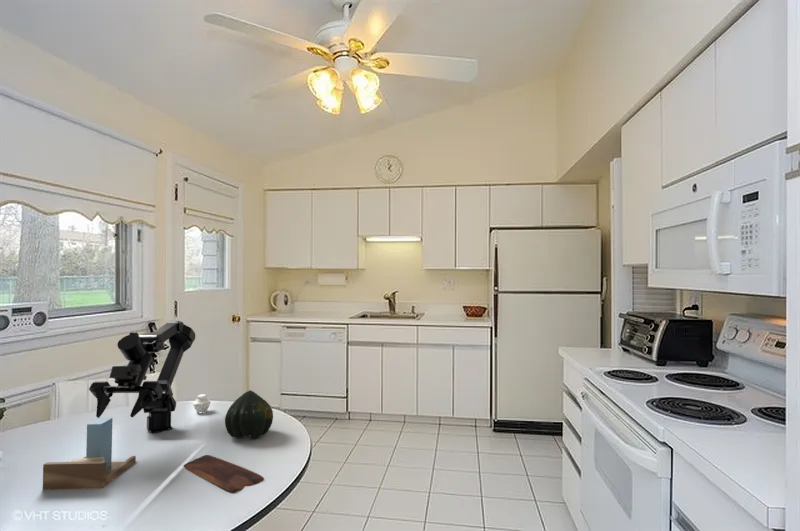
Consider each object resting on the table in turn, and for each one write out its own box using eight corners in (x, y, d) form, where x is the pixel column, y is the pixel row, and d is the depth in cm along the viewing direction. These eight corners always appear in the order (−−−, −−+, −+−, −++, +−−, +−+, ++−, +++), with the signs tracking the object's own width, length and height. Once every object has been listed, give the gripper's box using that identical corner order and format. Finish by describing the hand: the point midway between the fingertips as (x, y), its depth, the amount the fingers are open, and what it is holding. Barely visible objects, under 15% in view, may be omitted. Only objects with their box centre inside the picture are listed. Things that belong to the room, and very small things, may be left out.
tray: (83, 465, 119) (84, 440, 119) (136, 464, 120) (136, 439, 120) (42, 493, 104) (43, 464, 104) (102, 492, 105) (103, 463, 105)
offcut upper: (73, 468, 109) (73, 459, 109) (104, 466, 111) (104, 456, 111) (64, 476, 105) (64, 465, 105) (96, 473, 107) (96, 463, 107)
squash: (245, 432, 130) (266, 387, 140) (208, 427, 136) (231, 384, 146) (269, 450, 140) (287, 407, 150) (233, 445, 145) (253, 403, 155)
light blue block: (98, 465, 117) (99, 417, 117) (111, 465, 117) (112, 417, 117) (85, 474, 112) (87, 424, 112) (99, 474, 112) (101, 424, 112)
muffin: (213, 410, 168) (214, 392, 168) (203, 415, 162) (203, 396, 162) (200, 409, 169) (200, 391, 169) (189, 414, 163) (189, 395, 163)
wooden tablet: (177, 462, 120) (211, 446, 128) (178, 469, 120) (211, 453, 128) (231, 491, 104) (266, 472, 112) (232, 500, 104) (266, 480, 112)
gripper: (93, 354, 126) (66, 403, 115) (159, 354, 127) (138, 402, 116) (109, 374, 134) (84, 422, 122) (171, 374, 135) (152, 421, 124)
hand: (114, 416), depth 121 cm, fingers open, 9 cm apart
